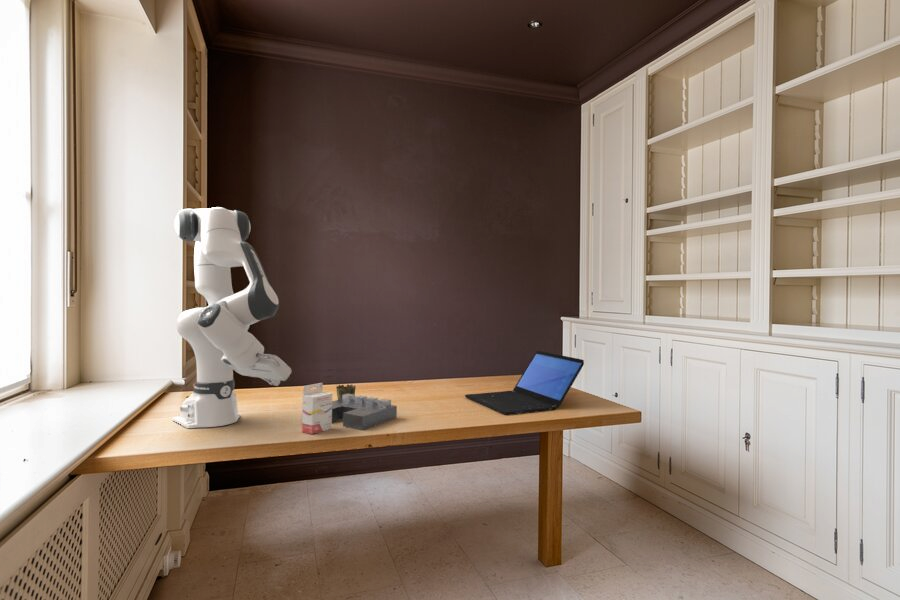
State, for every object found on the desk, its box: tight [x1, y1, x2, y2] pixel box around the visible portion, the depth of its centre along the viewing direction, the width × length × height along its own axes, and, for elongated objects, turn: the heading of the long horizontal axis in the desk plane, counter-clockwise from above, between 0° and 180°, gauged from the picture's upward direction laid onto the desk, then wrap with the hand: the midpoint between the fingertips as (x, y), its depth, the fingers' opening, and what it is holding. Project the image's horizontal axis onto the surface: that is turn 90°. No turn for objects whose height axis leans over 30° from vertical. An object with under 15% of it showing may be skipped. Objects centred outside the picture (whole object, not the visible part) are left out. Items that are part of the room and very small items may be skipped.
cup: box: [335, 383, 357, 400], centre depth 189 cm, size 8×7×8 cm
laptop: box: [464, 350, 585, 416], centre depth 199 cm, size 33×38×19 cm
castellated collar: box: [332, 394, 398, 431], centre depth 170 cm, size 24×18×6 cm
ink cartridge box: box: [301, 382, 333, 435], centre depth 155 cm, size 9×5×15 cm, turn 149°
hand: (276, 383), depth 141 cm, fingers closed
